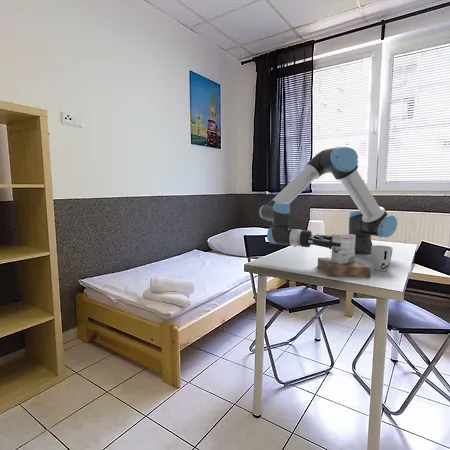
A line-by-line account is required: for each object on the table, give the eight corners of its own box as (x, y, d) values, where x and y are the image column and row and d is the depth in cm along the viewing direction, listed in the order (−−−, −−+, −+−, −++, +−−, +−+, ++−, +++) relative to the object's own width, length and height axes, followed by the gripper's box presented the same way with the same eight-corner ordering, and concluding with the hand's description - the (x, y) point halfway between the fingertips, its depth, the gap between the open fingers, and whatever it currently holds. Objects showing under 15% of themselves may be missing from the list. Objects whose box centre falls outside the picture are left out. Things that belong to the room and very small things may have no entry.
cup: (382, 273, 124) (384, 249, 122) (365, 268, 131) (367, 246, 130) (395, 270, 127) (396, 247, 126) (377, 266, 134) (379, 244, 133)
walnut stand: (353, 266, 133) (353, 258, 133) (370, 277, 117) (371, 267, 117) (317, 266, 133) (318, 257, 133) (329, 276, 117) (330, 266, 117)
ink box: (339, 264, 121) (341, 235, 120) (330, 261, 126) (331, 233, 124) (355, 262, 124) (356, 234, 123) (345, 259, 129) (347, 232, 128)
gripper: (308, 242, 144) (355, 247, 133) (292, 251, 123) (347, 257, 112) (309, 227, 143) (356, 230, 132) (292, 233, 122) (348, 237, 111)
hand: (352, 242), depth 122 cm, fingers open, 13 cm apart
